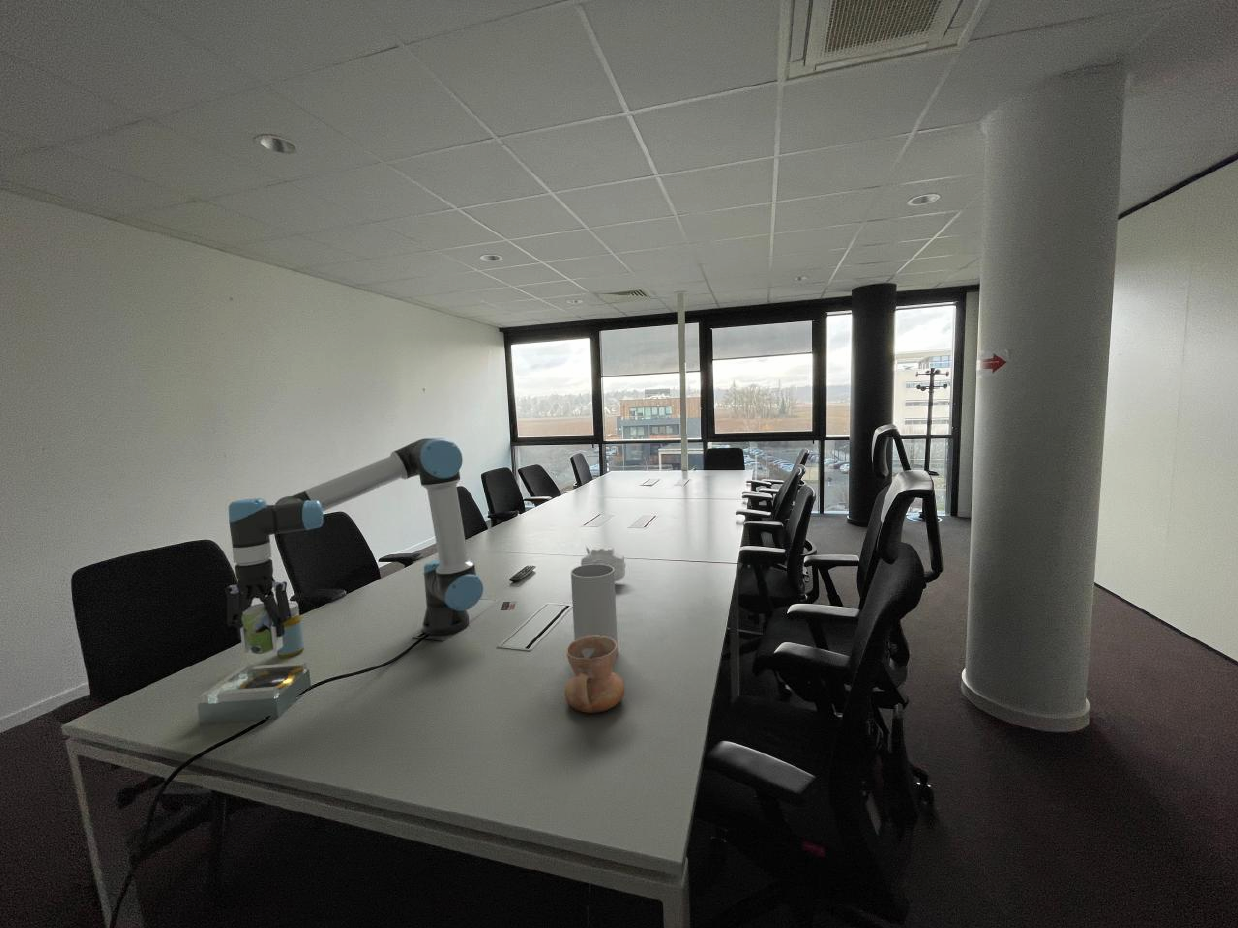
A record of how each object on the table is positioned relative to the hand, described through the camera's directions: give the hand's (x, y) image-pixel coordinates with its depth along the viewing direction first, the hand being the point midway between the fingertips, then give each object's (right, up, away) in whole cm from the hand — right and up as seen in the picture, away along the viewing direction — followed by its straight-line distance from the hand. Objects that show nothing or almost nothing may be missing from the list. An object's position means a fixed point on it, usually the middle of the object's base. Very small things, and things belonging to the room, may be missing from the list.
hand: (263, 649), depth 125 cm
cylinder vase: (+84, -9, +19) cm, 86 cm away
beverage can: (0, -1, 0) cm, 1 cm away
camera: (+84, -3, +79) cm, 115 cm away
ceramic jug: (+84, -11, -6) cm, 85 cm away
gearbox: (-1, -14, 0) cm, 14 cm away
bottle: (-12, -12, +29) cm, 33 cm away
